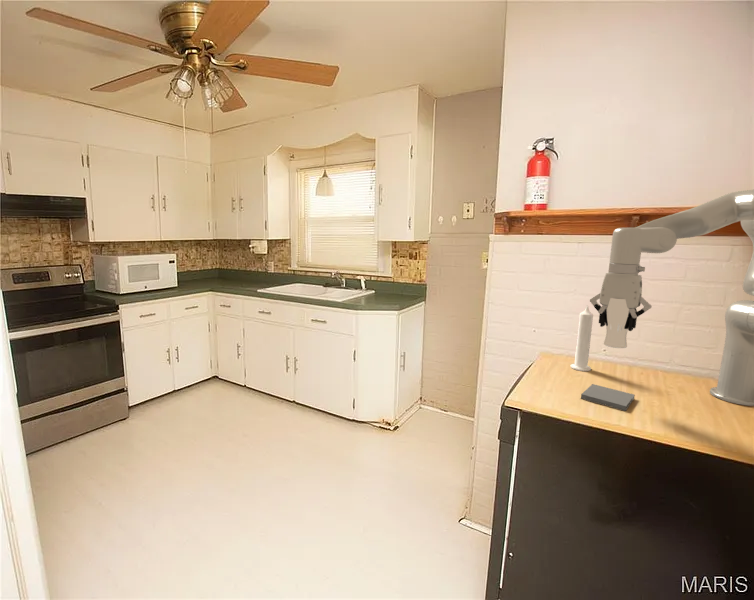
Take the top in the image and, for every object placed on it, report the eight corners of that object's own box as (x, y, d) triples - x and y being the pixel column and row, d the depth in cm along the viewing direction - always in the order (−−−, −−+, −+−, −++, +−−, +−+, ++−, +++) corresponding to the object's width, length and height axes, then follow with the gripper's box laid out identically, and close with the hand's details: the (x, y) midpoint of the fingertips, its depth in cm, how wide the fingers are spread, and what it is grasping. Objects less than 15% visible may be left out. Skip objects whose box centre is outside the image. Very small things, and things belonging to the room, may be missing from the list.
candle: (593, 372, 142) (601, 307, 138) (573, 370, 143) (580, 306, 139) (587, 366, 149) (594, 304, 145) (568, 364, 150) (574, 303, 146)
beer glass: (618, 349, 111) (624, 299, 108) (596, 343, 117) (601, 296, 115) (633, 347, 113) (639, 298, 111) (611, 341, 120) (616, 295, 117)
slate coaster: (634, 399, 118) (634, 394, 118) (625, 411, 110) (626, 406, 109) (591, 388, 126) (592, 383, 126) (580, 398, 118) (581, 394, 118)
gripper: (661, 271, 108) (653, 331, 111) (594, 267, 120) (588, 321, 123) (657, 272, 103) (648, 335, 106) (587, 268, 115) (581, 325, 117)
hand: (616, 327), depth 114 cm, fingers closed on beer glass, 6 cm apart
